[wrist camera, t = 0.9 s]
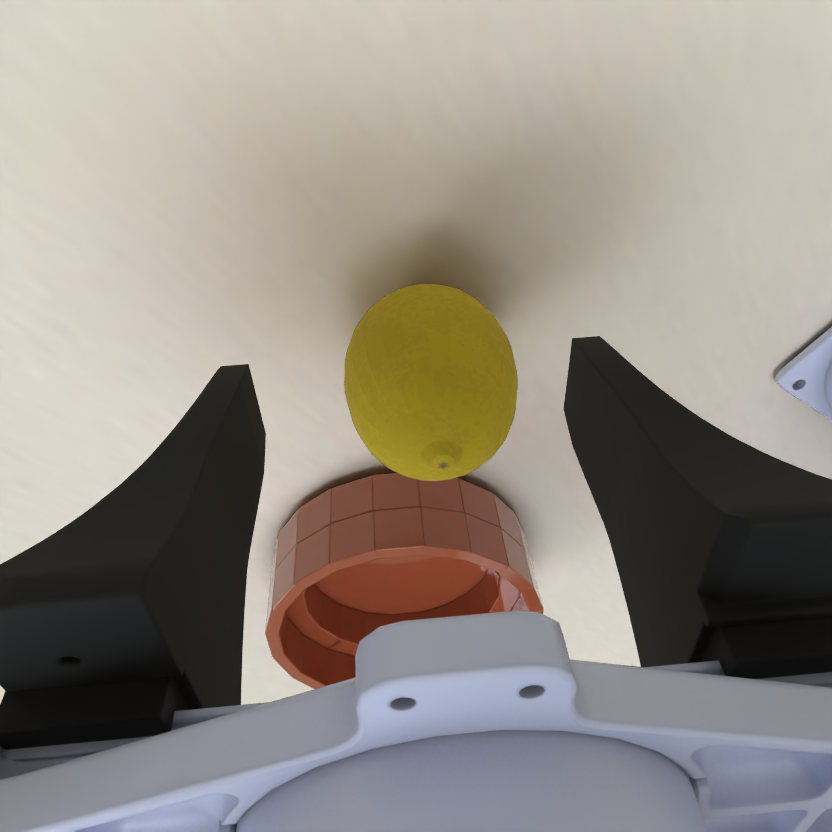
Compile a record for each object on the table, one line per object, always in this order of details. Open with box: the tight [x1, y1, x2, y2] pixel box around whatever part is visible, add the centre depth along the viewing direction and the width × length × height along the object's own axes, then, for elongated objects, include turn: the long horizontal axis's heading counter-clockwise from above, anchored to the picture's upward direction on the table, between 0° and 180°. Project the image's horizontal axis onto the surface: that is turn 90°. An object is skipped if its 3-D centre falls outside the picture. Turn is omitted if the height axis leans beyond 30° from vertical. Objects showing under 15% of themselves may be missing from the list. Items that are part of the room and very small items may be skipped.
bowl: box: [265, 473, 543, 689], centre depth 33 cm, size 12×12×5 cm
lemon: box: [344, 284, 517, 481], centre depth 23 cm, size 6×6×8 cm
